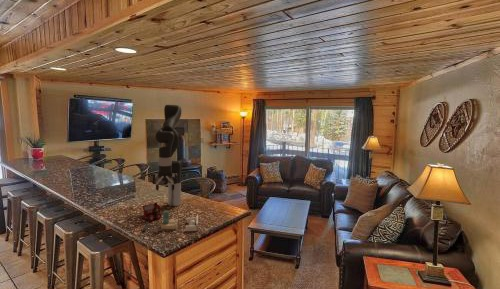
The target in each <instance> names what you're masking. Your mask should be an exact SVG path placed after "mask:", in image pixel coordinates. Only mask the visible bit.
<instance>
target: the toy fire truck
mask: <svg viewBox="0 0 500 289" xmlns="http://www.w3.org/2000/svg"><path fill="white" fill-rule="evenodd" d="M142 210H143V216H142V217H143V219H145V220H147V221H149V223H150V222H154V220H160V219H162V217H163V215H162V214H163V212H162V210H163V209H162V208H161V206H160V204H159V203H158V202H157V201H156V202H154V203H148V204H144V205H143V206H142Z"/></svg>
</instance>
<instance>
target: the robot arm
mask: <svg viewBox="0 0 500 289" xmlns="http://www.w3.org/2000/svg"><path fill="white" fill-rule="evenodd" d="M163 114H164V122H163V124H162V127H160V128H159V129H158V130H157V132H156V134H155V136H154V137H155V138H154V139H155V141H156V142H158V144H159V143H161V144H165V146H160V147H159V148H158V164H157V165H158V173H153V174H152V184H153V185H155V190H156V191H157V192H158V191H159V190H160V185H159V183H160V182H161V181H162V182H167V184H168V186H167V187H168V188H167V195H168V196H167V205H168V206H169V207H177V206H181V204H182V201H181V200H182V161H181V160H172V159H173V158H172V157H173V156H174V154H175V152H176V151H177V149H178V148H179V146H180V134H179V133H178V131H177V130H176V129H175V128H176V125H177V123H178V122H179V120H180V119H181V117H182V107H181V106H180V105H177V104H165V106H164V109H163ZM157 177H158V180H157V181H156V178H157Z"/></svg>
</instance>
